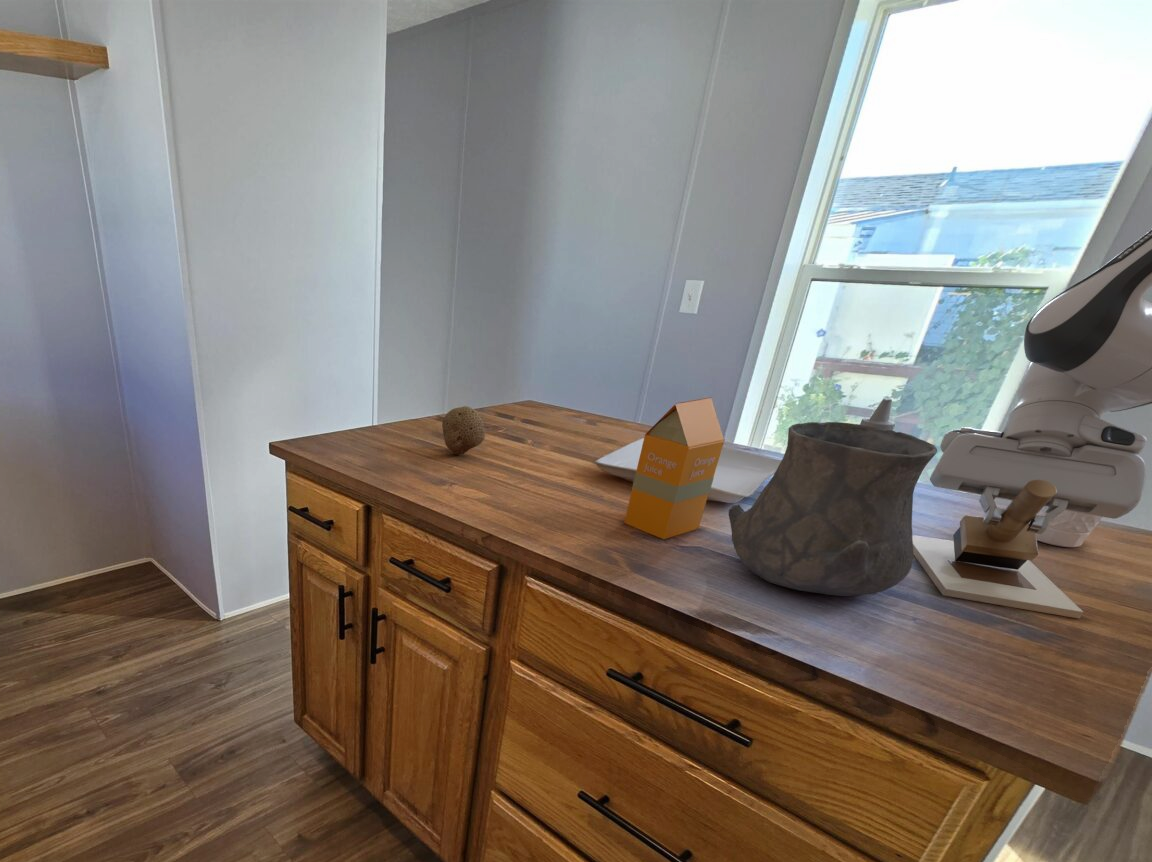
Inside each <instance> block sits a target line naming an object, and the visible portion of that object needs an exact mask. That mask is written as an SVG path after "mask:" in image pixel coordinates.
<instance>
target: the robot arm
mask: <svg viewBox="0 0 1152 862" xmlns="http://www.w3.org/2000/svg"><path fill="white" fill-rule="evenodd" d="M1151 287H1152V228H1151V229H1150V230H1149V231H1147V232H1146V233H1145V234H1144V235H1142V236H1141V237H1139V238H1138V239H1137V240H1136V241H1134V242H1133V243H1132V244H1130V245H1129V246H1127V247H1126V248H1124V250H1122V251H1121V252H1119V253H1118V254H1117V255H1115V256H1114V257H1113V258H1111V259H1110V260H1109V261H1107V262H1106V263H1105V264H1104V265H1102V266H1101V267H1099V268H1098V269H1097V270H1094V272H1092V273H1090V274H1089V275H1087V276H1086V277H1085V278H1083V279H1082V280H1080V281H1078V282H1077V283H1074V284H1073V285H1071V286H1070V287H1068V288H1067V289H1065V290H1063V291H1062V292H1060V293H1059V294H1057V295H1055V296H1054V297H1052V298H1051V299H1050V300H1049V301H1047V302H1046V303H1044V305H1042V306H1041V307H1040V308H1039V309H1038V310H1037V311H1035V313H1034V314H1033V315H1032V316H1031V318H1030V319H1029V321H1028V322H1027V324H1026V326H1025V329H1024V336H1023V349H1024V354H1025V357H1026V359H1027V360H1028V361H1029V362H1030V363H1029V365H1028V366H1027V369H1026V371H1025V372H1024V375H1023V376H1022V379H1021V382H1020V384H1019V387H1018V390H1017V393H1016V401H1017V403H1016V405H1015V407H1014V408H1013V409H1011V411H1010V412H1009V414H1008V417H1007V419H1006V421H1005V424H1004V427H1003V430H1002V431H997V430H988V429H976V428H973V427H965V426H964V427H961V428H960V429H959V428H958V429H952V430H950V431H947V432H946V433H945V434H944V436H943V437H942V440H941V442H940V445H939V446H940V450H941V452H942V454H941V456H940V458H939V459H938V461H937V463H936V465H935V467H934V469H933V471H932V472H931V475H930V477H929V481H930V483H931V485H932V486H933V487H935V488H938V489H945V490H951V491H956V492H962V493H967V494H973V495H979V496H980V497H979V500H978V502H979V504H980V506H981V509H982V510H983V512H984V516H983V517H984V518H983V521H982V523H986V524H992V525H997V524H998V523H999V522H1000V520H1001V518H1002V516H1001V515H1002V514H1003V512H1004V510H1005V508H1000V507H998V506H997V504H996V501H995V500H996V499H1002V500H1007V501H1012V500H1013V499H1014V498H1015V497H1016V496H1017V494H1018V493H1019V492H1020V491H1021V490H1022V489H1023V487H1024V486H1025V485H1026V484H1027V483H1028V482H1030V481H1032V480H1043V481H1047V482H1049V483H1051V484H1053V485H1054V486H1055V487H1056V489H1057V492H1056V494H1055V495H1054V496H1053V497H1052V498H1051V499H1050V501H1049V502H1048V503H1047V504H1046V505H1045V507H1047V508H1046V511H1045V512H1046V513H1048V514H1047V515H1045V516H1038V515H1036V516H1035V517H1034V518H1033V519H1032V520H1031V521H1030V522H1029V525H1028V526H1029V527H1028V528H1027V532H1032V533H1037V534H1042V533H1043V532H1044V531H1045V530H1046V528H1047V526H1048V523H1049V521H1051V520H1053V519H1054V518H1056V517H1057V516H1059V515H1060V514H1061V513H1062V512H1063V511H1064V510H1067V511H1073V512H1079V513H1084V514H1090V515H1095V516H1101V517H1102V518H1107V519H1112V520H1115V519H1119V518H1121V517H1124V516H1125V515H1127V514H1129V513H1131V512H1132V511H1133V510H1134V509H1135V508H1136V507H1137V506H1138V505H1139V503H1140V502H1141V500H1142V496H1143V492H1144V489H1145V485H1146V484H1145V483H1146V475H1147V465H1146V462H1145V460H1144V459H1143V457H1141V456H1140V454H1141V453H1142V452H1143V449H1144V448H1145V447H1146V445H1147V442H1148V439H1147V437H1146V436H1145V435H1143V434H1141V433H1138V432H1135V431H1132V430H1129V429H1126V428H1124V427H1121V426H1118V425H1116V424H1113V423H1110V422H1108V421H1106V420H1104V419H1101V416H1102V415H1104V414H1106V412H1111V413H1116V412H1122V411H1127V410H1132V409H1136V408H1140V407H1145V406H1148V405H1152V302H1150V301H1148V300H1147V299H1144V296H1145V294H1146V292H1147V291H1148V290H1149V289H1150V288H1151Z"/></svg>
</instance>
